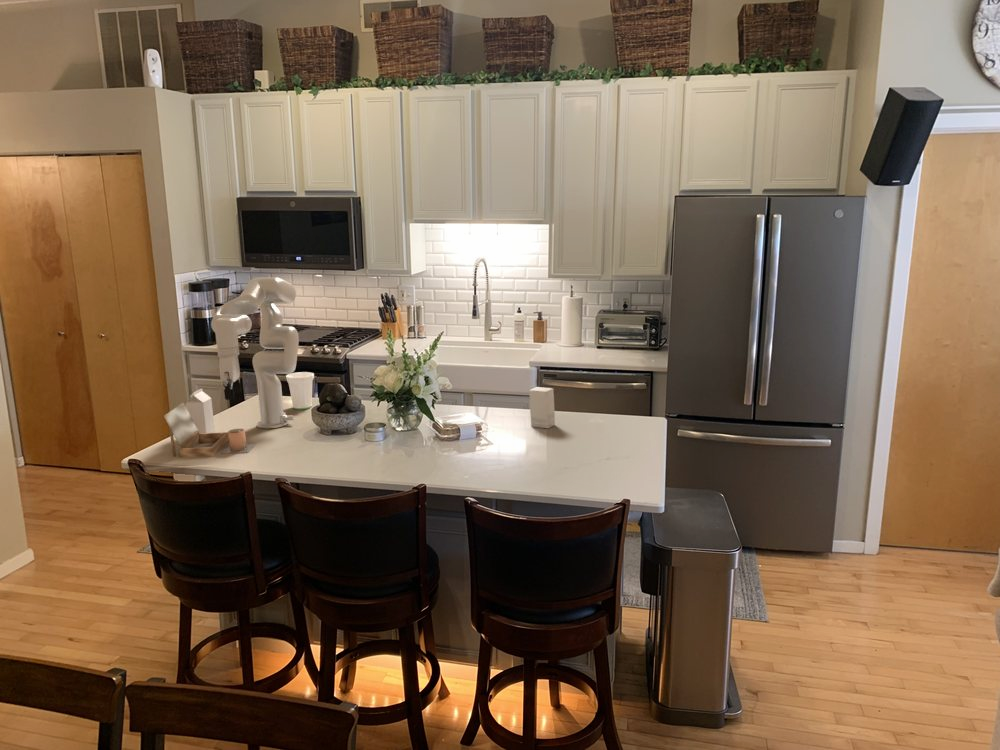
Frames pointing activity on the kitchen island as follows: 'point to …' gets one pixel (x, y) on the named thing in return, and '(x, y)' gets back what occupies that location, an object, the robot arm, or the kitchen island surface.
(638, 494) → the kitchen island surface
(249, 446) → the slate tile
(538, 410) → the skincare box
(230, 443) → the pot
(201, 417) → the milk carton
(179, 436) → the box
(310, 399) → the cup
